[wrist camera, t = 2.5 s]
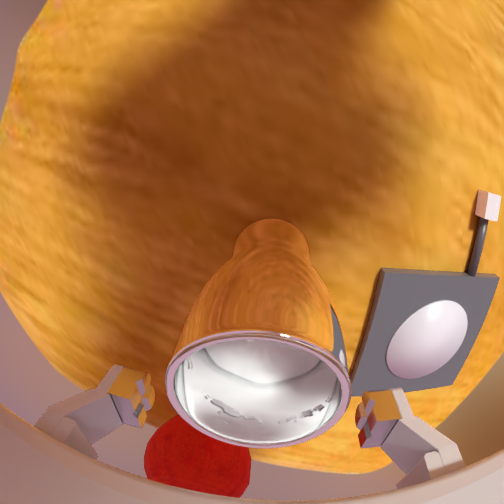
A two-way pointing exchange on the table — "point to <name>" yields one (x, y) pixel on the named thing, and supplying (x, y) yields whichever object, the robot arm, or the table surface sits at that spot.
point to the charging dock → (425, 320)
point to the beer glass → (262, 347)
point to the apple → (196, 460)
